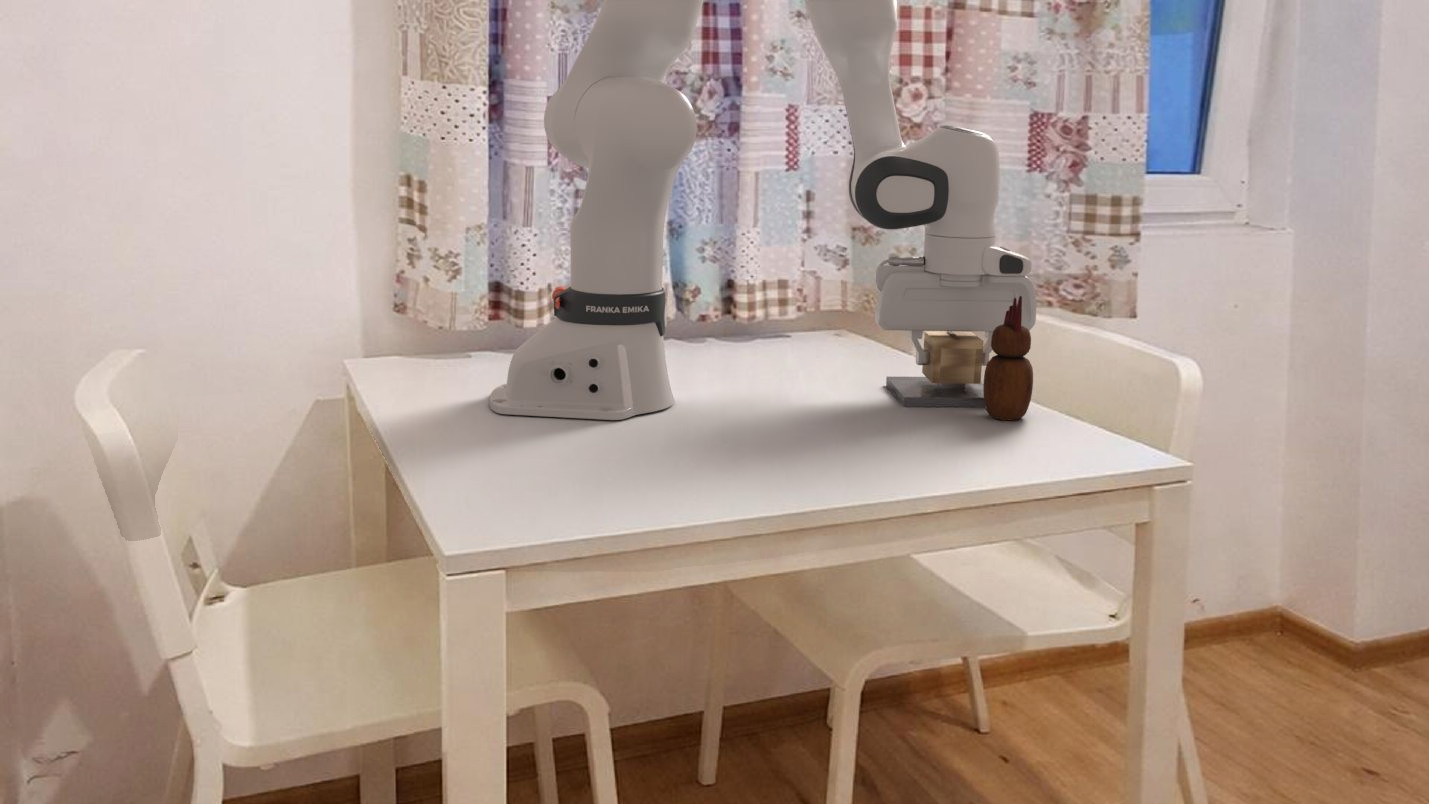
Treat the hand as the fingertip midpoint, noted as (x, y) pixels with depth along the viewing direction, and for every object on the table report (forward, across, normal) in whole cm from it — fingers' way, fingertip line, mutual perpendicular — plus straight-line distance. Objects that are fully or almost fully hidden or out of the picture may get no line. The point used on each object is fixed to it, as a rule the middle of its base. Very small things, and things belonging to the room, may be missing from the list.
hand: (951, 364), depth 170 cm
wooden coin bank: (+2, 0, 0) cm, 2 cm away
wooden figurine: (+4, +4, -12) cm, 13 cm away
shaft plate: (+4, -1, -1) cm, 4 cm away
